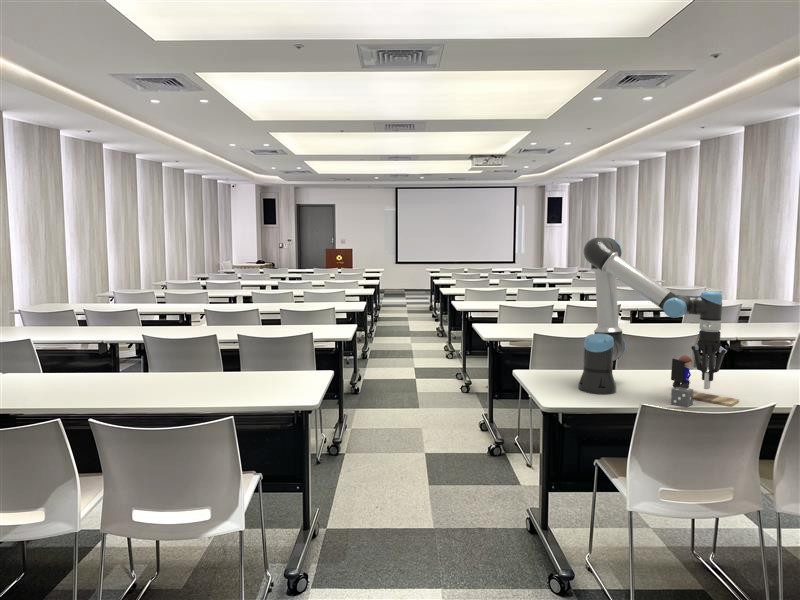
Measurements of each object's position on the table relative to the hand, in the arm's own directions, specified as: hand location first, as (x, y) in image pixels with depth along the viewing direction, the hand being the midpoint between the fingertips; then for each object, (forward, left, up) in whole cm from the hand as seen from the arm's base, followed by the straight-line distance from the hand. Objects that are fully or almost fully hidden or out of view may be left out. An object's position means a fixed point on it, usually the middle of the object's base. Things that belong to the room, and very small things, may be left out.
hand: (707, 388), depth 233 cm
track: (0, 0, -4) cm, 4 cm away
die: (-4, -15, -5) cm, 16 cm away
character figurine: (-13, +7, -5) cm, 15 cm away
